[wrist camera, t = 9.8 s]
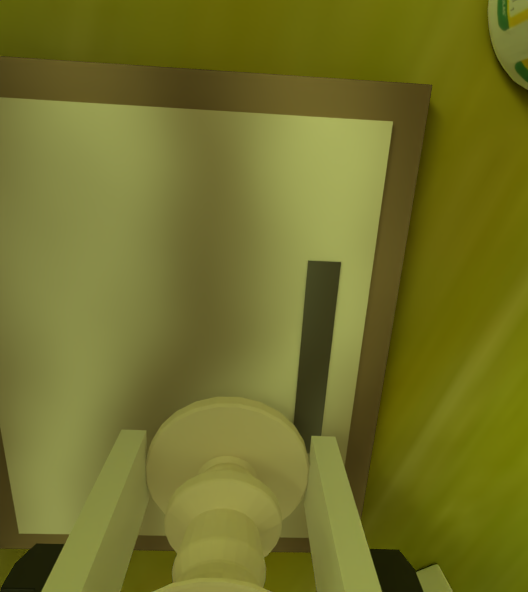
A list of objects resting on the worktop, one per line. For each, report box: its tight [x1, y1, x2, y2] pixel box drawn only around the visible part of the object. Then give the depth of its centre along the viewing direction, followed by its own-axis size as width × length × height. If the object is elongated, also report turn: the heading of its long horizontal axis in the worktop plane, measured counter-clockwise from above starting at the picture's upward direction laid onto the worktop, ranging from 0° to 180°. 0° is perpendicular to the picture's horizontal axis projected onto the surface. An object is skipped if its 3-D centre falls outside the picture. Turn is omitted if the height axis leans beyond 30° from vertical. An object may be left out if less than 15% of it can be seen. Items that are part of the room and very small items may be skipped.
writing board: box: [0, 56, 432, 553], centre depth 14 cm, size 14×17×1 cm
